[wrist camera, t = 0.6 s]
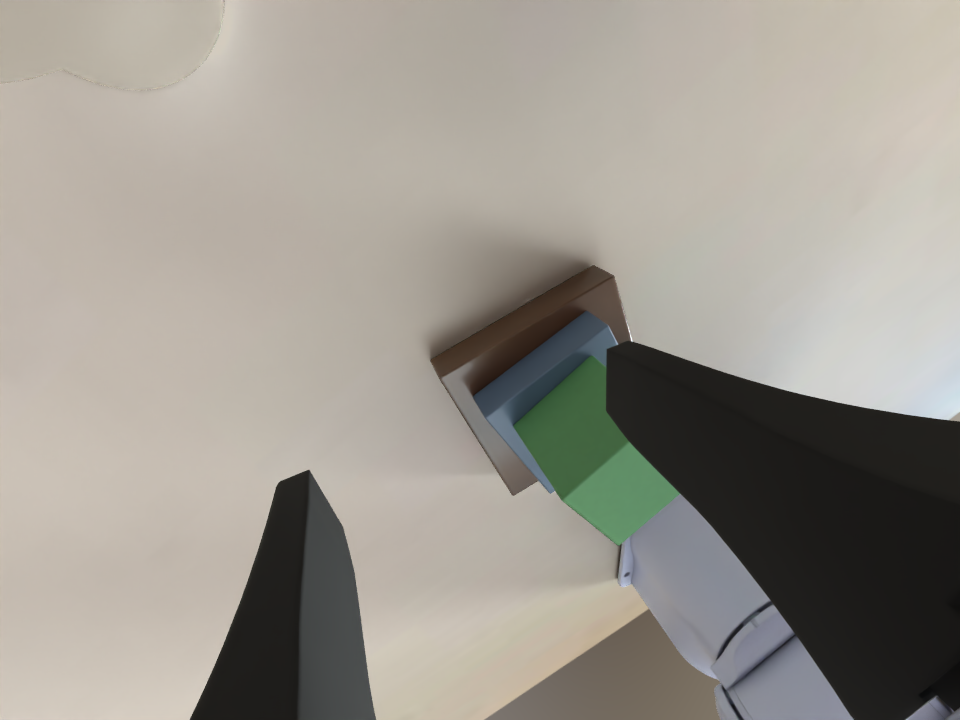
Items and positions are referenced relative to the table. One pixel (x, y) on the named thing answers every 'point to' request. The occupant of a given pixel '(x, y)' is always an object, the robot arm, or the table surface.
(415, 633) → the table surface
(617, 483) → the green cube
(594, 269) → the base slab
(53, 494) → the table surface
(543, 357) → the middle block
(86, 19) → the beer glass
